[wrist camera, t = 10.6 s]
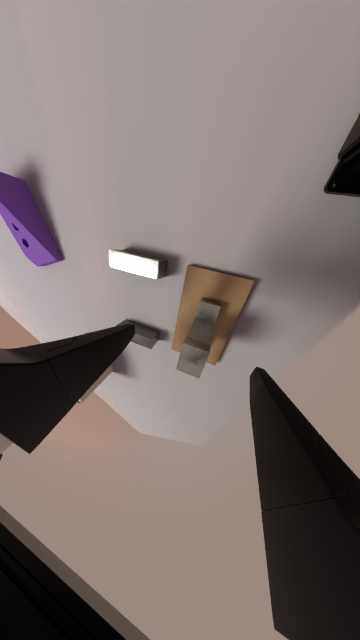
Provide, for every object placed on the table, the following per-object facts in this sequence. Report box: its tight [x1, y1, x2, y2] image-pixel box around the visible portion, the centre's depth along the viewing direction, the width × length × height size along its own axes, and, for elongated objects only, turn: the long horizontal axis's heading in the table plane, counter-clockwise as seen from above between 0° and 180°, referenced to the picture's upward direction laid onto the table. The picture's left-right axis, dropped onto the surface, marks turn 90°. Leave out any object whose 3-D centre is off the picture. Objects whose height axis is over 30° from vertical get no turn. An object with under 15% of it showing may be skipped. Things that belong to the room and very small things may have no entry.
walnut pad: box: [172, 265, 254, 365], centre depth 21 cm, size 9×16×1 cm, turn 170°
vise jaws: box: [108, 249, 167, 349], centre depth 23 cm, size 8×16×3 cm, turn 170°
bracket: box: [0, 172, 63, 266], centre depth 22 cm, size 12×7×7 cm, turn 11°
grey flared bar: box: [176, 298, 221, 378], centre depth 18 cm, size 3×8×8 cm, turn 170°
